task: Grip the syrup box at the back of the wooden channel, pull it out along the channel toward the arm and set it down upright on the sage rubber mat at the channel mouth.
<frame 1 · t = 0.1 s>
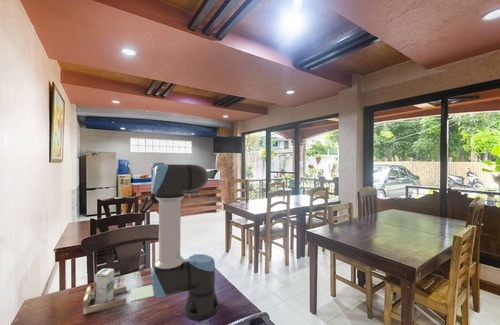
hand: (157, 222, 141), 28 cm above the table, fingers open, 13 cm apart
wooden channel: (109, 300, 109), on the table
sage mat: (142, 293, 116), on the table
syrup box: (104, 302, 108), resting in wooden channel
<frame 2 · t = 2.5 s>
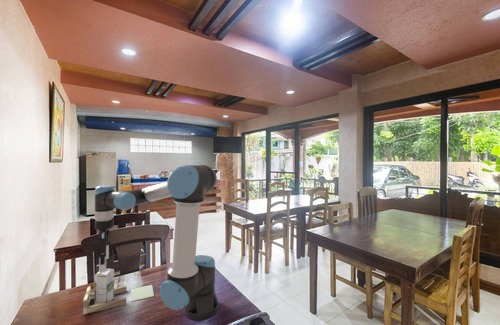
hand: (104, 264, 108), 17 cm above the table, fingers open, 13 cm apart
nothing on the table moved.
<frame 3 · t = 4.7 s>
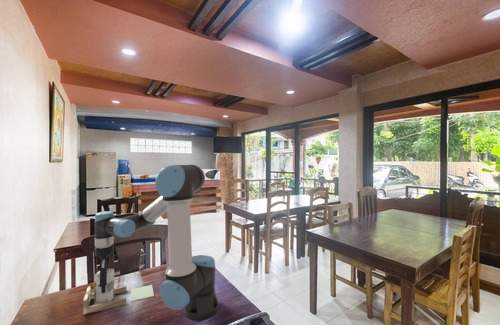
hand: (104, 294, 108), 4 cm above the table, fingers closed on syrup box, 7 cm apart
syrup box: (104, 302, 108), resting in wooden channel, touching gripper
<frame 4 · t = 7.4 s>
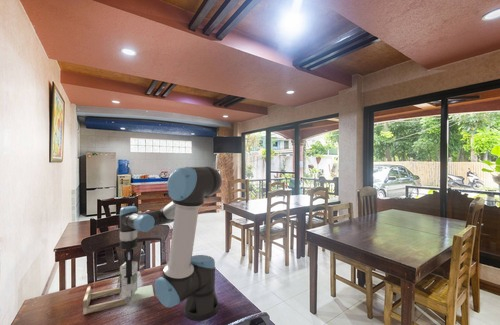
hand: (128, 285, 113), 5 cm above the table, fingers closed on syrup box, 7 cm apart
syrup box: (128, 293, 113), point 1 cm above the table, touching gripper
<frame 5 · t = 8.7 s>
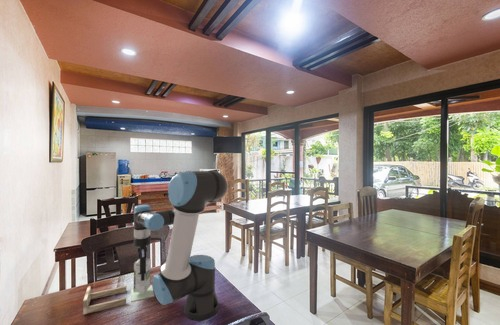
hand: (142, 282, 116), 6 cm above the table, fingers closed on syrup box, 7 cm apart
syrup box: (142, 289, 116), point 2 cm above the table, touching gripper
when the fingers open (5 cm above the table, at t = 10.1 s): syrup box stays where it is, resting on sage mat.
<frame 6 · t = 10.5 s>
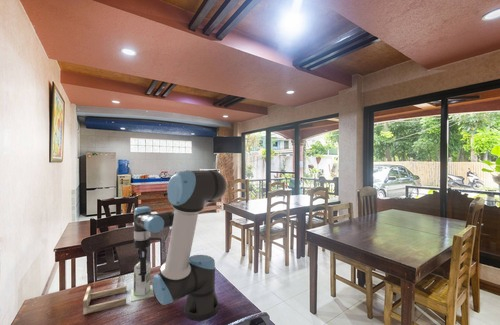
hand: (142, 280, 116), 6 cm above the table, fingers open, 13 cm apart
syrup box: (142, 292, 116), resting on sage mat
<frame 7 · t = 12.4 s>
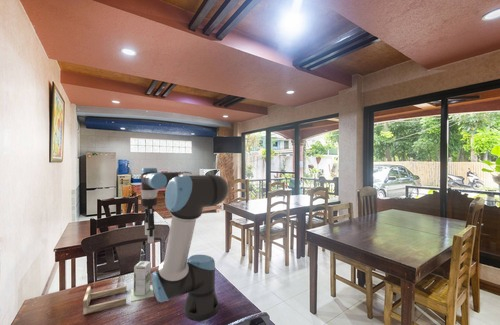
hand: (149, 238, 121), 26 cm above the table, fingers open, 13 cm apart
nothing on the table moved.
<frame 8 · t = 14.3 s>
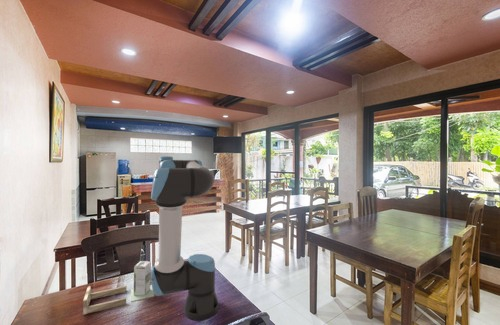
hand: (165, 219, 135), 32 cm above the table, fingers open, 13 cm apart
nothing on the table moved.
at the end: syrup box inside the target area on the sage mat (0.0 cm from its centre), point 0.2 cm above the sage mat's base; syrup box tilted 0°; the gripper is holding nothing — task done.
